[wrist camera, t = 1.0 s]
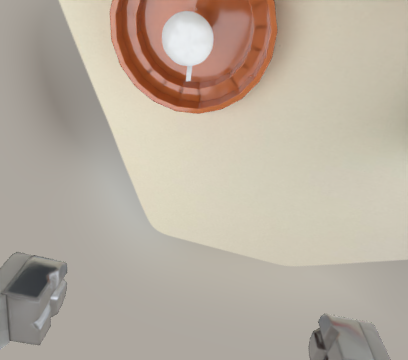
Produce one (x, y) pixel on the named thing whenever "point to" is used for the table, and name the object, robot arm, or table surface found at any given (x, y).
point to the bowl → (205, 71)
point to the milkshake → (188, 38)
